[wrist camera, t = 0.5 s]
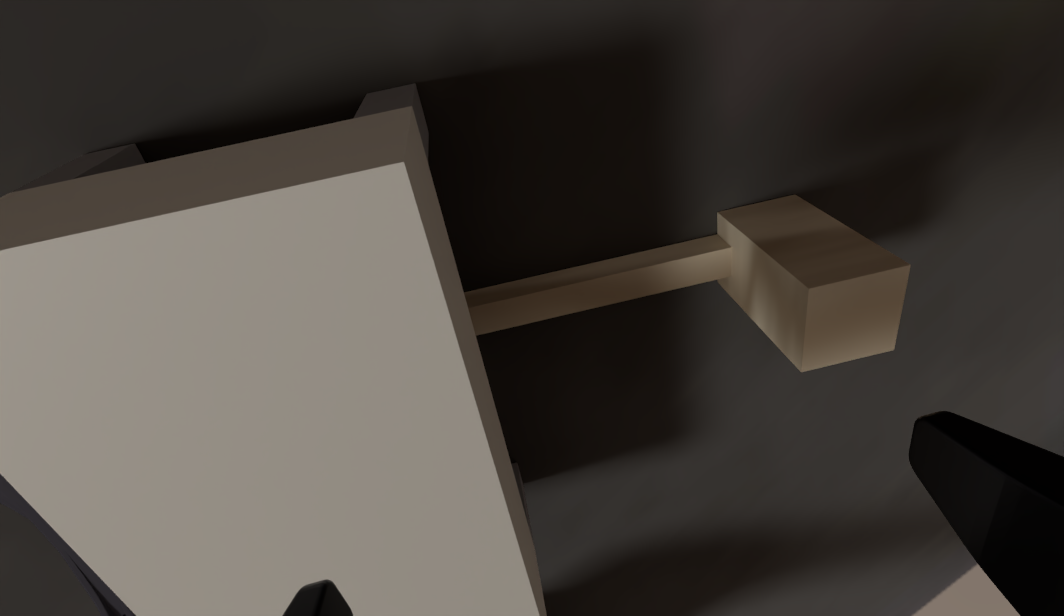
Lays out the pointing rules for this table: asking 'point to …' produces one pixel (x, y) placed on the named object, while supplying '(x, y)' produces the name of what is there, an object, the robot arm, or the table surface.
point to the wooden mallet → (740, 282)
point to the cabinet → (259, 378)
